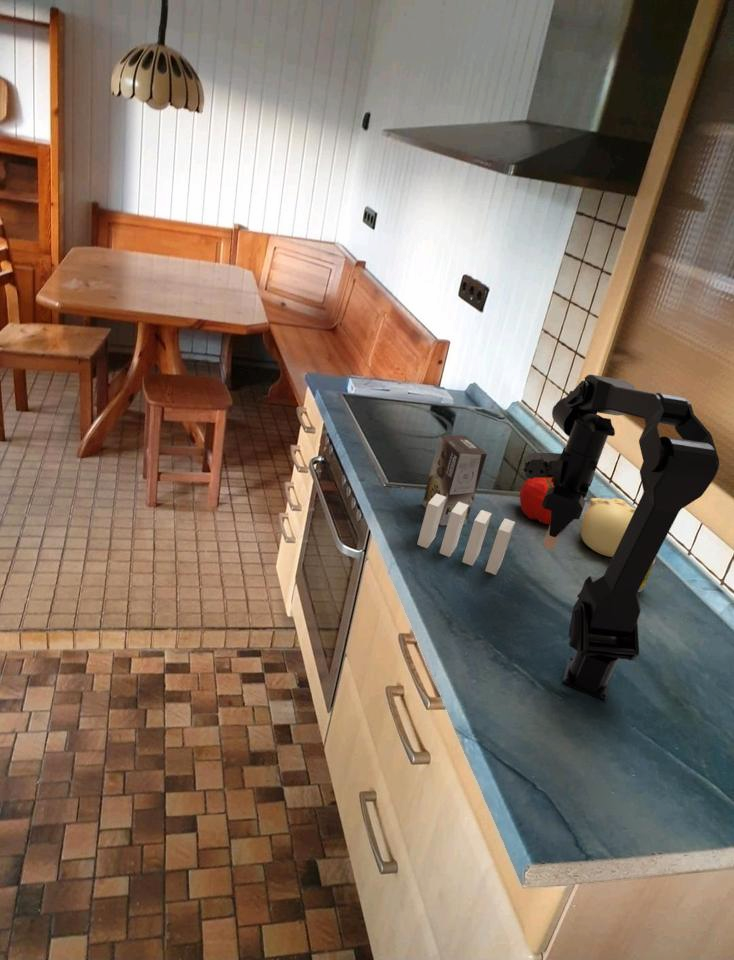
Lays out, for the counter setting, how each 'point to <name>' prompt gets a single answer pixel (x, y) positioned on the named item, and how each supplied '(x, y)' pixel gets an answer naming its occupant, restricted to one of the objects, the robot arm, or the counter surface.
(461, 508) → the domino
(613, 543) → the pale yellow round lump
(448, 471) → the coffee box
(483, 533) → the domino
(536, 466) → the robot arm
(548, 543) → the domino
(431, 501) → the domino
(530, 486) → the tomato
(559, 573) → the counter surface
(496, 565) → the domino
